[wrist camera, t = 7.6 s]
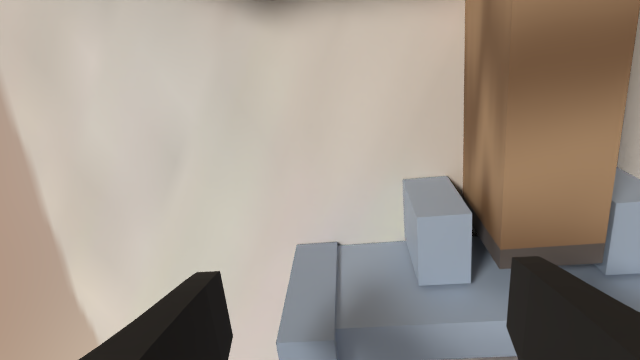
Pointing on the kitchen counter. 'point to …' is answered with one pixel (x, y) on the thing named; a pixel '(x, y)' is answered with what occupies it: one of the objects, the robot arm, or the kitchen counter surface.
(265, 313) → the kitchen counter surface
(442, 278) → the blue-grey stepped platform
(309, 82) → the kitchen counter surface
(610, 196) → the brown block
